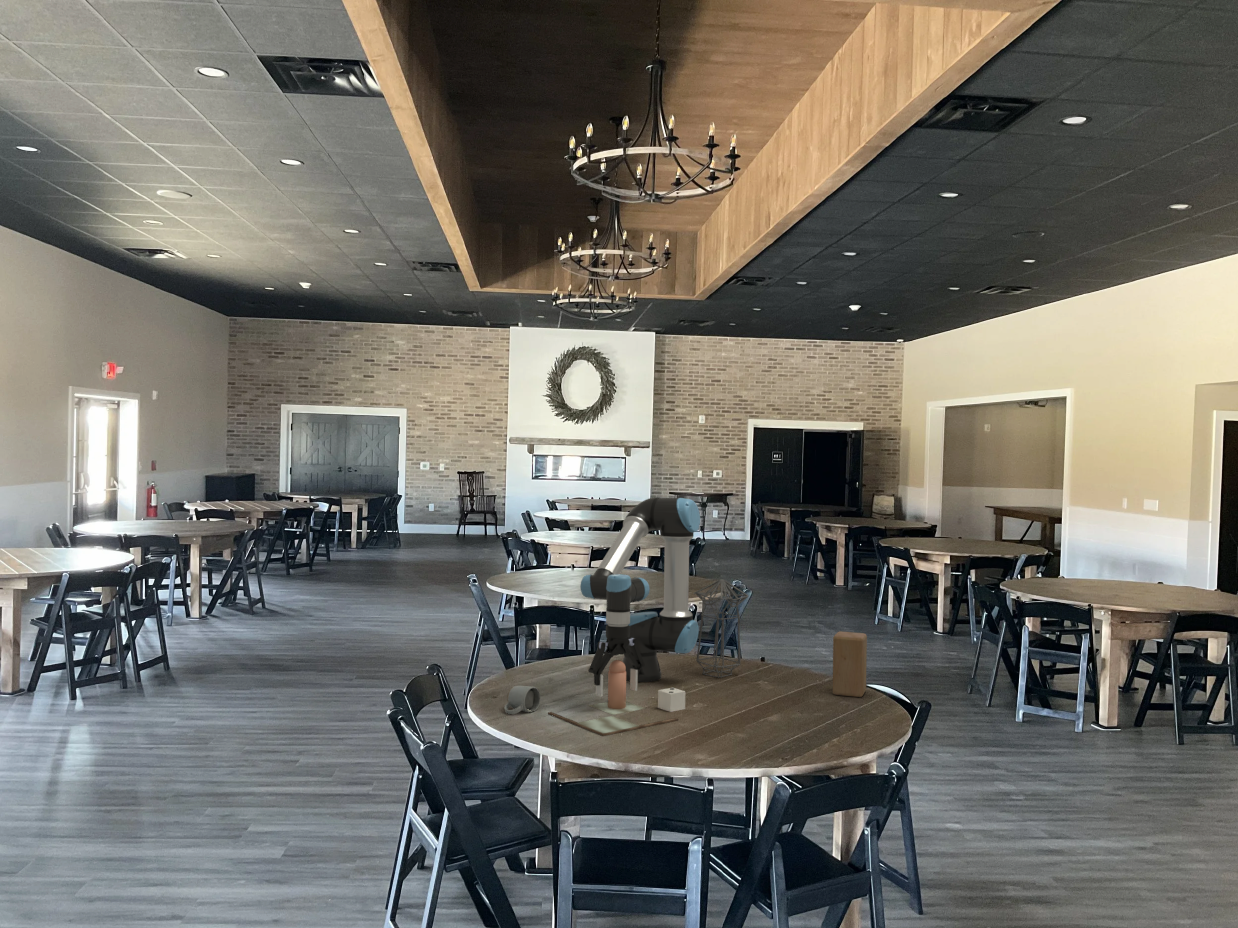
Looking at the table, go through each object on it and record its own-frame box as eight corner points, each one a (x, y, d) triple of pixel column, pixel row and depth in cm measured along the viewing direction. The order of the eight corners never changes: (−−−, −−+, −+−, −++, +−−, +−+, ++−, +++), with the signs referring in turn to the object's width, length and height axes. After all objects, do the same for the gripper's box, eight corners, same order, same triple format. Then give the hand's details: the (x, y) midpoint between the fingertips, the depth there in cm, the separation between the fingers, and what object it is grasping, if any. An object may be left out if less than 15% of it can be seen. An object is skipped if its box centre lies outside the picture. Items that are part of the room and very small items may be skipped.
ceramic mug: (521, 705, 292) (521, 681, 292) (541, 709, 287) (541, 684, 287) (498, 712, 283) (498, 687, 283) (518, 717, 278) (518, 691, 278)
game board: (620, 700, 299) (620, 698, 299) (678, 720, 277) (678, 718, 277) (548, 713, 282) (548, 711, 282) (603, 735, 260) (603, 733, 260)
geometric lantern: (715, 668, 350) (719, 575, 350) (748, 676, 338) (752, 580, 338) (687, 673, 339) (691, 578, 339) (719, 682, 328) (723, 583, 328)
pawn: (618, 703, 293) (619, 657, 293) (629, 707, 289) (630, 660, 289) (604, 706, 290) (604, 659, 290) (615, 709, 285) (615, 662, 285)
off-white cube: (672, 706, 293) (672, 687, 293) (685, 710, 288) (685, 690, 288) (657, 709, 289) (658, 689, 289) (670, 713, 284) (670, 693, 284)
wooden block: (831, 694, 311) (832, 635, 311) (836, 688, 320) (837, 630, 320) (862, 698, 307) (863, 637, 307) (866, 691, 316) (867, 632, 316)
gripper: (641, 619, 300) (640, 685, 300) (578, 626, 285) (577, 695, 284) (656, 622, 294) (655, 689, 294) (592, 629, 279) (591, 700, 278)
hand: (616, 692), depth 289 cm, fingers open, 13 cm apart
